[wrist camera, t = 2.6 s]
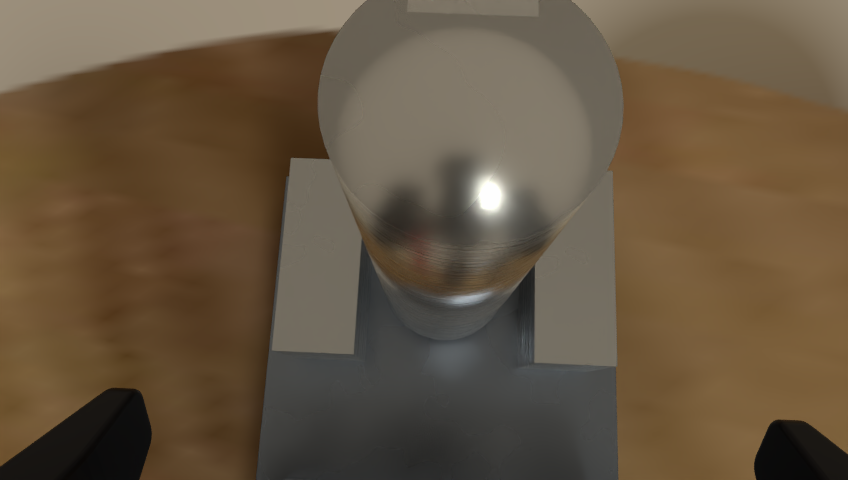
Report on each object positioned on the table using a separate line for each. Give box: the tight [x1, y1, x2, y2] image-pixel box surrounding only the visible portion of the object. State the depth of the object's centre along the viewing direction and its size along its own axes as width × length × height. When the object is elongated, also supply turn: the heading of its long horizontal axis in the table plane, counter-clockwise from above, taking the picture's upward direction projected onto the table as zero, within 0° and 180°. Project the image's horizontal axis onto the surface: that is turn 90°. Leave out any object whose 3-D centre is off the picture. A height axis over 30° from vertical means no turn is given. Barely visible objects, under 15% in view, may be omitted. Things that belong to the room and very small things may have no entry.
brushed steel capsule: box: [318, 0, 623, 340], centre depth 14 cm, size 6×4×12 cm, turn 177°
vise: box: [256, 158, 618, 480], centre depth 18 cm, size 12×10×5 cm
